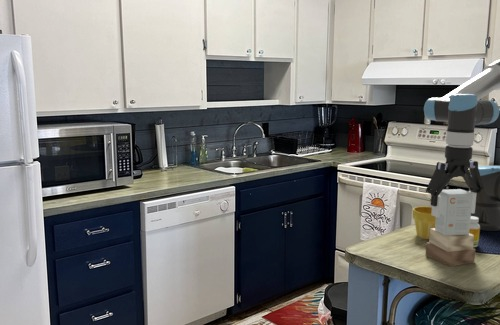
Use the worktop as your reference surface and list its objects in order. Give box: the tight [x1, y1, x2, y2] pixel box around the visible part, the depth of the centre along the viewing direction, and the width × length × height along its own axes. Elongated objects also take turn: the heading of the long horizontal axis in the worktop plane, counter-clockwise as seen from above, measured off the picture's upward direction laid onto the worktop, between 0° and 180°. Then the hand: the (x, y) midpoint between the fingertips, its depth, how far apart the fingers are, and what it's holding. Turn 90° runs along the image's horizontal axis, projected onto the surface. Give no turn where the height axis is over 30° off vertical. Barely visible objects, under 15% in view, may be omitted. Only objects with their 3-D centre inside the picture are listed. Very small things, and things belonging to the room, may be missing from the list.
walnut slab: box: [425, 241, 476, 267], centre depth 153 cm, size 10×10×4 cm
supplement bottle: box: [469, 216, 481, 248], centre depth 165 cm, size 5×5×10 cm
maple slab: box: [428, 228, 474, 252], centre depth 152 cm, size 9×9×4 cm
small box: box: [435, 188, 473, 236], centre depth 150 cm, size 8×6×13 cm
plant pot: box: [412, 205, 436, 240], centre depth 173 cm, size 10×10×10 cm
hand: (453, 214), depth 150 cm, fingers open, 13 cm apart
